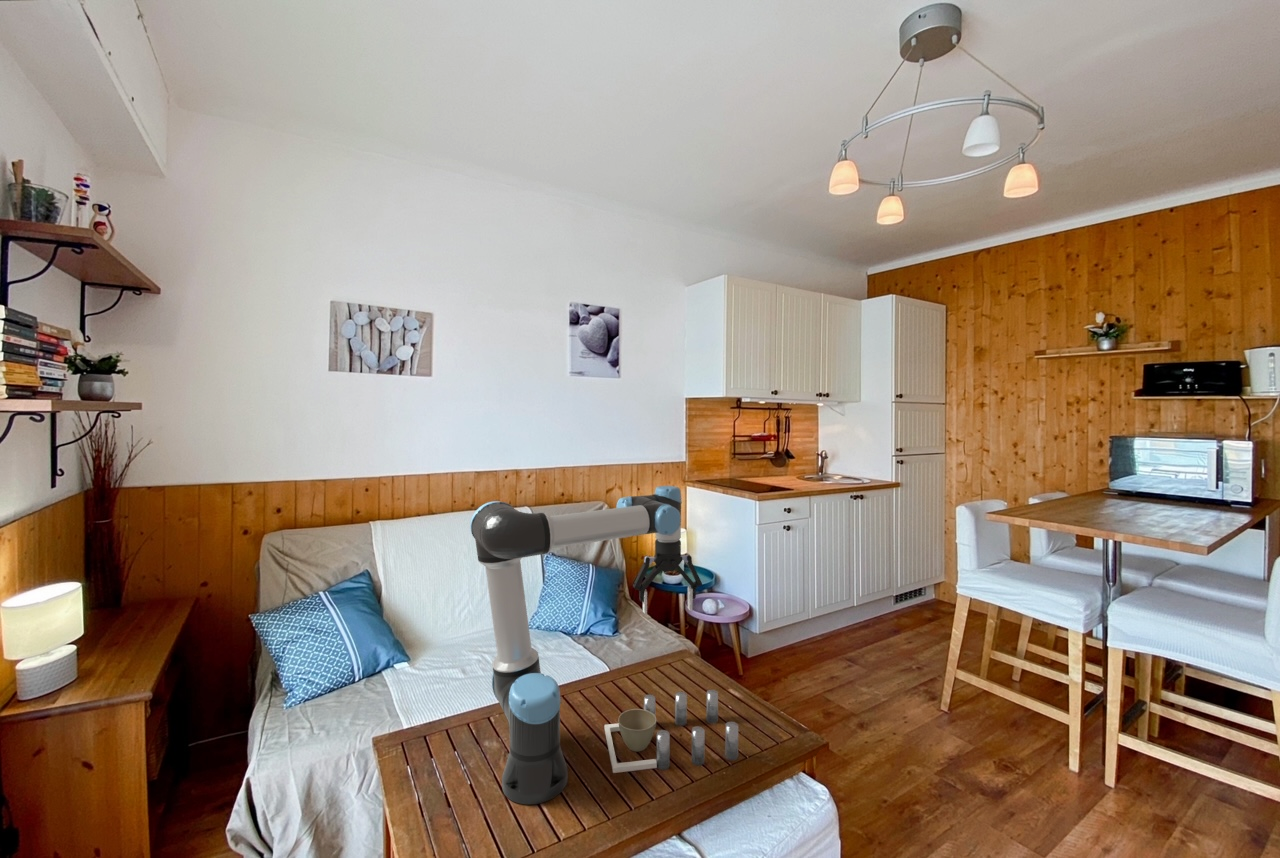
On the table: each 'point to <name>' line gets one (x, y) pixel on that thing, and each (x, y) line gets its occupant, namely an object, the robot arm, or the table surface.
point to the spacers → (693, 730)
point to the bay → (626, 765)
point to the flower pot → (637, 728)
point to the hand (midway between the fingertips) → (667, 611)
